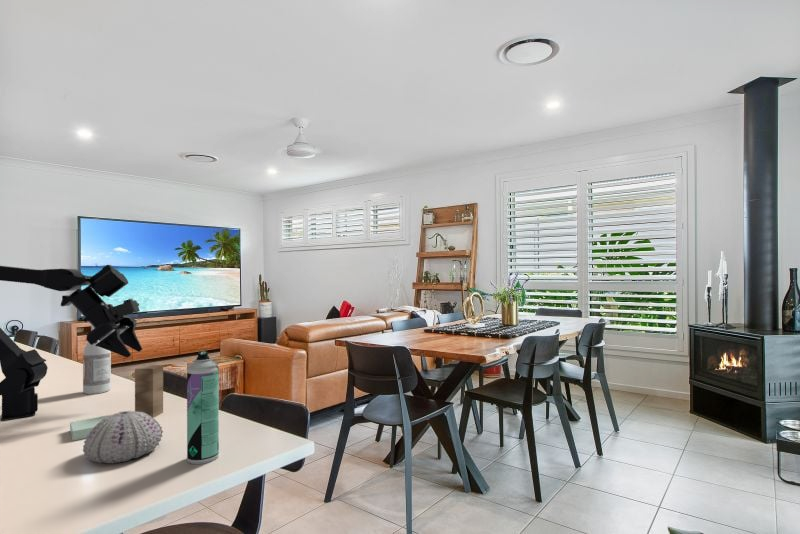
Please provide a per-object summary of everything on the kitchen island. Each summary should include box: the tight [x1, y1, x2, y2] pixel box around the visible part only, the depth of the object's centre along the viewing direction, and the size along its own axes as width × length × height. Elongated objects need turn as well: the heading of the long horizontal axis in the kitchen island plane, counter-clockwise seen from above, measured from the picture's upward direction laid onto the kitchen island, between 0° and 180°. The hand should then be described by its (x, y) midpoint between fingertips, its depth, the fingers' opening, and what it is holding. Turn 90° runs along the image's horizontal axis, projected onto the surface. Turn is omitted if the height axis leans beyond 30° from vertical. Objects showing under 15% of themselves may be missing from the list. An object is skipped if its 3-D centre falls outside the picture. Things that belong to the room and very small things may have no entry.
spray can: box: [186, 351, 220, 465], centre depth 85 cm, size 6×6×20 cm
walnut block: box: [134, 364, 164, 419], centre depth 112 cm, size 4×4×12 cm
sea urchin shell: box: [82, 410, 164, 464], centre depth 88 cm, size 13×14×8 cm
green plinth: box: [69, 414, 111, 442], centre depth 100 cm, size 8×8×2 cm
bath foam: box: [82, 325, 112, 395], centre depth 136 cm, size 7×7×20 cm
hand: (135, 353), depth 119 cm, fingers open, 9 cm apart
